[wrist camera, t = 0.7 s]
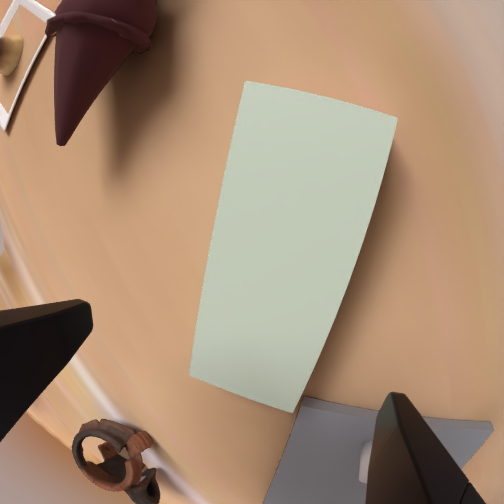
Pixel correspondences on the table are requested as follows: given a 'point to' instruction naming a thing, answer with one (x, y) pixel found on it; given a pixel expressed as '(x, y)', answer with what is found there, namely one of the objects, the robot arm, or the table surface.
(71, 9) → the icecream
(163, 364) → the table surface
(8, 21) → the dessert
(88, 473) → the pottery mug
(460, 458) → the peg plate
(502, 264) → the table surface
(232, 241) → the shelf board
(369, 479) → the robot arm
